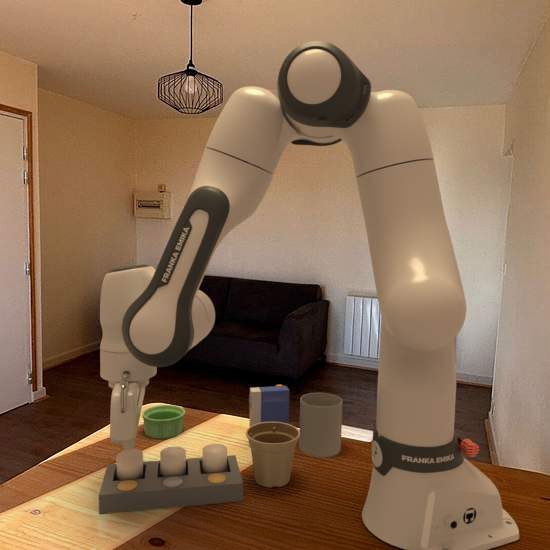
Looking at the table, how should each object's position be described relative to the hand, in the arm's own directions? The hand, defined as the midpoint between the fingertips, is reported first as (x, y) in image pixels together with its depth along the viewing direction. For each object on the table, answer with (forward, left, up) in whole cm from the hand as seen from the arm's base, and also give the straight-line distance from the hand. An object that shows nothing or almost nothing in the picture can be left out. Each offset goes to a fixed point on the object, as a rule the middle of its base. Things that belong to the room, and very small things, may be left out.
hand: (129, 446), depth 81 cm
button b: (-7, 0, -5) cm, 9 cm away
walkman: (-26, -13, -8) cm, 30 cm away
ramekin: (-5, -23, -8) cm, 25 cm away
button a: (-14, 0, -5) cm, 15 cm away
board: (-7, +2, -8) cm, 10 cm away
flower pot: (-24, +1, -8) cm, 25 cm away
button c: (0, 0, -5) cm, 5 cm away
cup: (-36, -10, -8) cm, 38 cm away
